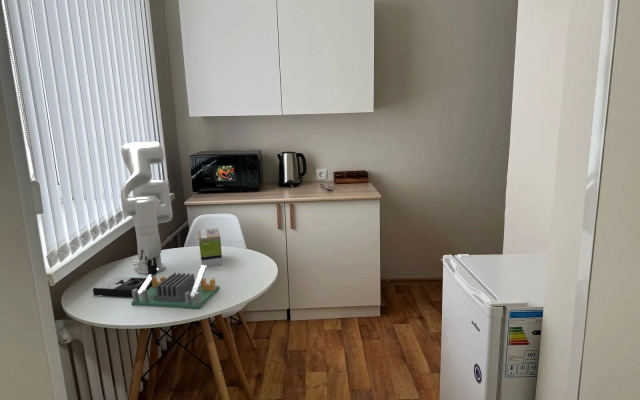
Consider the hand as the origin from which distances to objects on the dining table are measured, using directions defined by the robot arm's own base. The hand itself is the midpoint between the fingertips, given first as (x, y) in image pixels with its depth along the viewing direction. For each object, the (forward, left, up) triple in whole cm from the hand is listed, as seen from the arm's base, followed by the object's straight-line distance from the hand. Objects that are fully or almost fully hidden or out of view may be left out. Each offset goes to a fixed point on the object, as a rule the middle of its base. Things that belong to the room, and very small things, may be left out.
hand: (153, 273), depth 176 cm
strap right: (+22, -3, -1) cm, 22 cm away
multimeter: (-15, +2, -9) cm, 18 cm away
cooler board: (+10, -1, -9) cm, 14 cm away
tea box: (+7, +40, -9) cm, 41 cm away
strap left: (0, -3, -3) cm, 4 cm away
